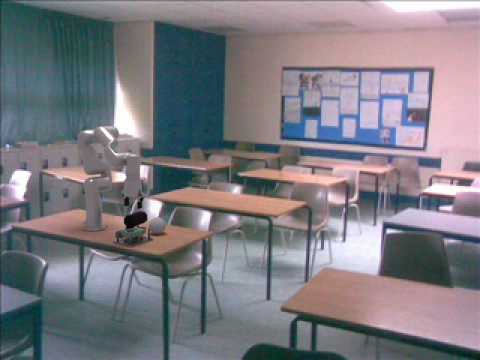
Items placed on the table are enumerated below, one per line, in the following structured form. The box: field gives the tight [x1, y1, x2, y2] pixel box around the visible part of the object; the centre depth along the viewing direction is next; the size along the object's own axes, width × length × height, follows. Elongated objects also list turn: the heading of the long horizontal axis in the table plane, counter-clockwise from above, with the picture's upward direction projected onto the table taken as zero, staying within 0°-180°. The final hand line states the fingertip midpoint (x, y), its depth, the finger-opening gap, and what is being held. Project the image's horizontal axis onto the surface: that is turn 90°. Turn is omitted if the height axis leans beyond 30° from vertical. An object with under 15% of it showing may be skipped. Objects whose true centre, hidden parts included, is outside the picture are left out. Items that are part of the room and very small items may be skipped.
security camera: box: [123, 210, 148, 230], centre depth 326 cm, size 7×18×10 cm, turn 156°
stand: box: [115, 228, 128, 239], centre depth 313 cm, size 10×4×3 cm, turn 147°
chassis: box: [113, 225, 154, 248], centre depth 301 cm, size 18×13×7 cm
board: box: [121, 227, 147, 238], centre depth 300 cm, size 12×7×4 cm, turn 147°
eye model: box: [148, 216, 167, 235], centre depth 318 cm, size 10×10×10 cm
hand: (133, 207), depth 298 cm, fingers open, 9 cm apart
